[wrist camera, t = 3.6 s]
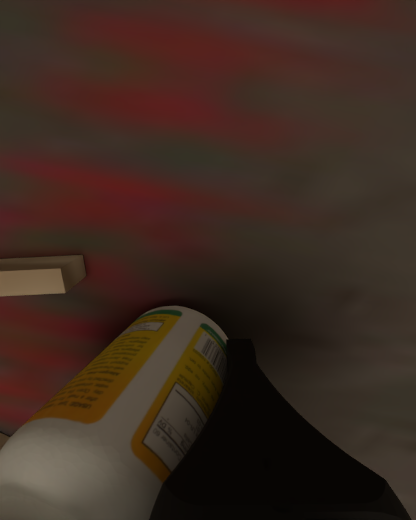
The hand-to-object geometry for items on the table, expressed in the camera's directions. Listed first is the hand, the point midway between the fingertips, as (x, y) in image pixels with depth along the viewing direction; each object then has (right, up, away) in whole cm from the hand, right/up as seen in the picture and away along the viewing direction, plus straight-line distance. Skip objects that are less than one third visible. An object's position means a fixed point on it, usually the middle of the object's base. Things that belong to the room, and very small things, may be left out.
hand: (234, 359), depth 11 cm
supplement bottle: (-2, 0, +2) cm, 3 cm away
